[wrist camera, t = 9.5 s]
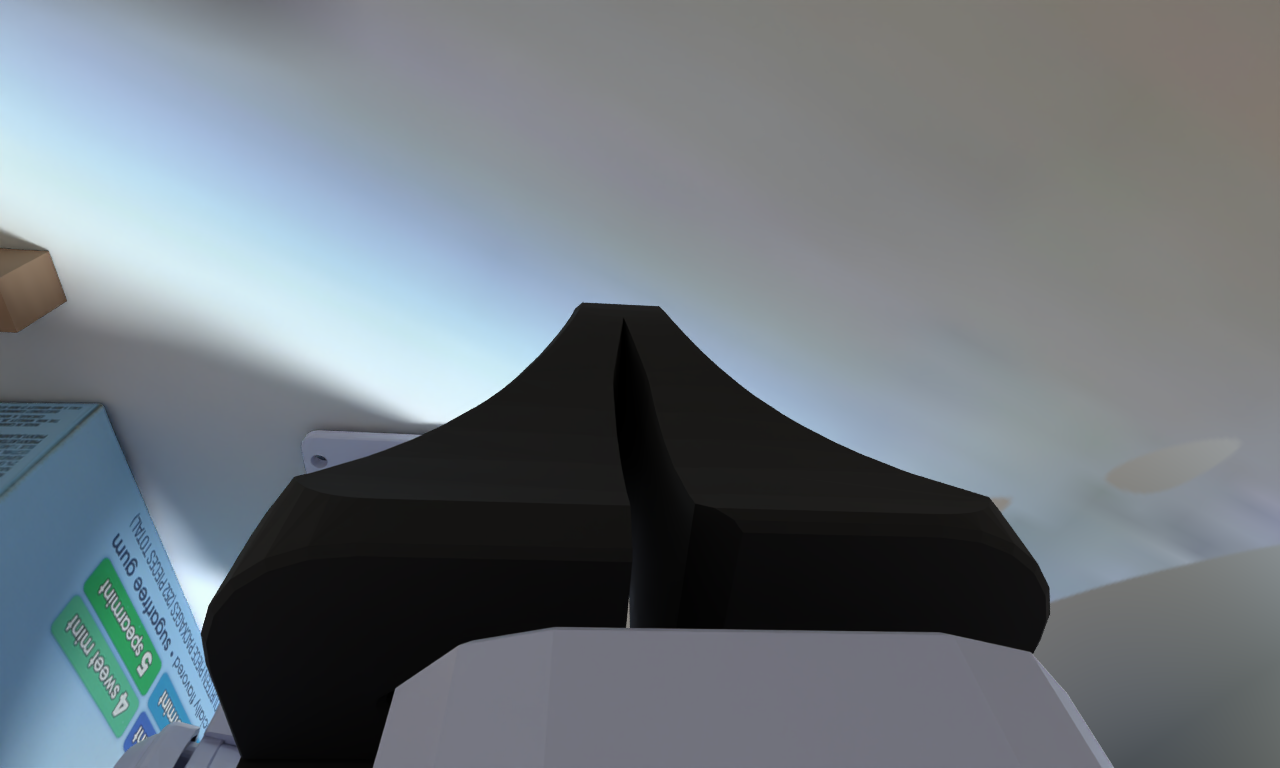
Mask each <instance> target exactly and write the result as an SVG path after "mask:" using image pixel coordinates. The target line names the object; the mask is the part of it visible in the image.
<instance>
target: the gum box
mask: <svg viewBox="0 0 1280 768" xmlns="http://www.w3.org/2000/svg"><path fill="white" fill-rule="evenodd" d="M219 704H220V701H219V698H218V695H217V693H216V690H215V687H214V685H213V682H212V680H211V677H210V674H209V672H208V669H207V666H206V663H205V657H204V651H203V645H202V639H201V633H200V631H199V628H198V626H197V624H196V622H195V619H194V617H193V614H192V612H191V609H190V607H189V605H188V602H187V600H186V598H185V596H184V594H183V591H182V589H181V586H180V584H179V582H178V579H177V577H176V575H175V572H174V570H173V567H172V565H171V563H170V560H169V558H168V556H167V553H166V551H165V549H164V546H163V544H162V542H161V539H160V537H159V535H158V533H157V531H156V528H155V526H154V524H153V522H152V520H151V517H150V515H149V513H148V510H147V508H146V505H145V503H144V500H143V498H142V496H141V493H140V491H139V489H138V487H137V484H136V482H135V480H134V478H133V475H132V473H131V471H130V468H129V466H128V464H127V461H126V459H125V457H124V454H123V452H122V450H121V447H120V445H119V443H118V440H117V438H116V435H115V433H114V431H113V428H112V426H111V423H110V421H109V418H108V415H107V413H106V410H105V408H104V407H103V405H102V404H101V403H95V404H93V403H0V768H113V767H114V765H115V764H116V763H117V762H118V760H119V759H120V758H121V757H122V755H123V754H124V753H125V752H126V751H127V750H128V749H129V748H130V747H132V746H133V745H135V744H137V743H139V742H141V741H143V740H144V739H146V738H148V737H150V736H152V735H154V734H159V733H160V732H161V731H162V729H163V728H164V727H166V726H167V725H168V724H170V723H172V722H183V723H187V724H190V725H194V726H198V727H201V728H200V731H199V735H198V739H197V742H196V743H200V741H201V740H202V738H203V736H204V733H205V731H206V729H207V727H208V725H209V723H210V722H211V720H212V718H213V716H214V714H215V712H216V710H217V708H218V706H219Z"/></svg>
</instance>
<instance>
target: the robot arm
mask: <svg viewBox="0 0 1280 768" xmlns="http://www.w3.org/2000/svg"><path fill="white" fill-rule="evenodd" d="M301 450H302V455H303V460H304V465H305V470H306V474H304V475H300V476H296V477H294V478H293V479H292V480H291V482H290V483H289V485H288V486H287V487H286V489H285V490H284V491H283V493H282V494H281V495H280V496H279V498H278V499H277V500H276V501H275V503H274V504H273V505H272V506H271V508H270V509H269V510H268V512H267V513H266V514H265V516H264V517H263V519H262V520H261V522H260V523H259V525H258V526H257V528H256V529H255V531H254V532H253V534H252V535H251V537H250V538H249V540H248V542H247V543H246V545H245V546H244V548H243V550H242V551H241V553H240V555H239V556H238V558H237V560H236V561H235V563H234V565H233V566H232V568H231V570H230V571H229V573H228V574H227V576H226V578H225V579H224V581H223V583H222V584H221V586H220V588H219V589H218V591H217V593H216V594H215V596H214V598H213V599H212V601H211V602H210V604H209V606H208V610H207V613H206V617H205V621H204V624H203V628H202V631H201V639H202V645H203V651H204V657H205V663H206V666H207V669H208V672H209V674H210V677H211V680H212V682H213V685H214V687H215V690H216V693H217V695H218V698H219V701H220V704H219V706H218V708H217V710H216V712H215V714H214V716H213V718H212V720H211V722H210V723H209V725H208V727H207V729H206V731H205V733H204V736H203V738H202V740H201V741H200V743H196V742H197V739H198V735H199V731H200V728H201V727H198V726H194V725H190V724H187V723H183V722H172V723H170V724H168V725H167V726H166V727H164V728H163V729H162V731H161V732H160V733H159V734H154V735H152V736H150V737H148V738H146V739H144V740H143V741H141V742H139V743H137V744H135V745H133V746H132V747H130V748H129V749H128V750H127V751H126V752H125V753H124V754H123V755H122V757H121V758H120V759H119V760H118V762H117V763H116V764H115V765H114V767H113V768H1114V767H1113V766H1112V764H1111V762H1110V761H1109V759H1108V758H1107V756H1106V754H1105V753H1104V751H1103V750H1102V748H1101V746H1100V745H1099V743H1098V742H1097V740H1096V738H1095V737H1094V735H1093V734H1092V732H1091V731H1090V729H1089V728H1088V726H1087V724H1086V723H1085V721H1084V719H1083V718H1082V716H1081V715H1080V713H1079V711H1078V710H1077V708H1076V707H1075V705H1074V704H1073V702H1072V700H1071V699H1070V698H1069V696H1068V694H1067V693H1066V692H1065V690H1064V689H1063V688H1062V687H1061V686H1060V685H1059V684H1058V683H1057V681H1056V680H1055V679H1054V678H1053V677H1052V676H1051V675H1050V673H1049V672H1048V671H1047V670H1046V669H1045V668H1044V667H1043V666H1042V664H1041V663H1040V662H1039V661H1038V660H1037V659H1036V658H1035V656H1034V655H1033V653H1034V651H1035V649H1036V647H1037V646H1038V643H1039V642H1040V640H1041V637H1042V634H1043V631H1044V629H1045V626H1046V623H1047V620H1048V618H1049V615H1050V593H1049V586H1048V584H1047V582H1046V580H1045V578H1044V576H1043V574H1042V572H1041V569H1040V567H1039V565H1038V563H1037V562H1036V561H1035V559H1034V558H1033V557H1032V555H1031V554H1030V552H1029V551H1028V550H1027V548H1026V547H1025V545H1024V544H1023V543H1022V541H1021V540H1020V538H1019V537H1018V536H1017V534H1016V533H1015V532H1014V530H1013V529H1012V527H1011V526H1010V525H1009V523H1008V522H1007V520H1006V519H1005V518H1004V516H1003V515H1002V513H1001V512H1000V511H999V509H998V508H997V507H996V506H995V504H994V503H993V502H992V500H991V499H990V498H989V497H987V496H983V495H980V494H977V493H973V492H970V491H967V490H964V489H960V488H957V487H954V486H951V485H947V484H944V483H941V482H937V481H934V480H931V479H928V478H924V477H921V476H918V475H915V474H911V473H909V472H906V471H903V470H900V469H898V468H895V467H893V466H890V465H887V464H885V463H882V462H880V461H877V460H875V459H872V458H870V457H867V456H865V455H862V454H860V453H857V452H855V451H853V450H851V449H849V448H846V447H844V446H842V445H840V444H837V443H835V442H833V441H831V440H829V439H827V438H825V437H823V436H822V435H820V434H818V433H816V432H814V431H812V430H810V429H808V428H806V427H804V426H802V425H800V424H799V423H797V422H795V421H793V420H792V419H790V418H788V417H786V416H785V415H783V414H782V413H780V412H779V411H777V410H775V409H774V408H772V407H771V406H769V405H768V404H766V403H765V402H763V401H762V400H760V399H759V398H757V397H756V396H754V395H753V394H752V393H750V392H749V391H748V390H746V389H745V388H743V387H742V386H741V385H740V384H738V383H737V382H736V381H735V380H734V379H732V378H731V377H730V376H729V375H728V374H726V373H725V372H724V371H723V370H722V369H720V368H719V367H718V366H717V365H716V364H715V363H714V362H713V361H711V360H710V359H709V358H708V357H707V356H706V355H705V354H704V353H703V352H702V351H701V350H700V349H699V348H698V347H697V346H696V345H695V344H694V343H693V342H692V341H691V340H690V339H689V338H688V337H687V336H686V335H685V334H684V333H683V332H682V331H681V329H680V328H679V327H678V326H677V325H676V324H675V323H674V322H673V321H672V320H671V318H670V317H669V316H668V315H667V314H666V313H665V312H664V311H663V310H662V309H661V308H660V307H659V306H641V305H621V304H601V303H581V304H580V305H579V306H578V307H577V308H575V310H574V312H573V314H572V315H571V317H570V319H569V320H568V321H567V323H566V324H565V326H564V327H563V328H562V330H561V331H560V332H559V334H558V335H557V336H556V337H555V338H554V339H553V341H552V342H551V343H550V344H549V345H548V346H547V347H546V349H545V350H544V351H543V352H542V353H541V354H540V355H539V356H538V357H537V358H536V359H535V360H534V361H533V362H532V363H531V364H530V365H529V366H528V367H527V368H526V369H525V370H524V371H523V372H522V373H521V374H520V375H519V376H517V377H516V378H515V379H514V380H513V381H512V382H511V383H509V384H508V385H507V386H506V387H505V388H503V389H502V390H501V391H499V392H498V393H496V394H495V395H494V396H492V397H491V398H489V399H488V400H486V401H485V402H483V403H482V404H480V405H478V406H477V407H475V408H473V409H471V410H469V411H468V412H466V413H464V414H462V415H460V416H459V417H457V418H455V419H453V420H451V421H449V422H448V423H446V424H444V425H442V426H440V427H438V428H436V429H434V430H432V431H430V432H428V433H425V434H423V435H414V434H392V433H369V432H347V431H325V430H316V431H311V432H309V433H307V435H306V436H305V438H304V439H303V441H302V443H301ZM316 455H320V456H323V457H324V458H326V460H325V461H323V460H320V459H318V458H317V457H316ZM628 601H629V604H630V628H626V622H627V612H628Z"/></svg>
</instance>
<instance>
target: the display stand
mask: <svg viewBox="0 0 1280 768" xmlns="http://www.w3.org/2000/svg"><path fill="white" fill-rule="evenodd" d="M66 301H67V300H66V297H65V294H64V291H63V289H62V286H61V283H60V280H59V278H58V275H57V272H56V269H55V267H54V264H53V261H52V258H51V256H50V253H49V251H35V250H19V249H4V248H0V332H14V333H18V332H19V331H21V330H22V329H24V328H25V327H27V326H29V325H30V324H32V323H33V322H35V321H36V320H38V319H39V318H41V317H43V316H44V315H46V314H47V313H49V312H50V311H52V310H54V309H55V308H57V307H58V306H60V305H61V304H63V303H64V302H66Z"/></svg>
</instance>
